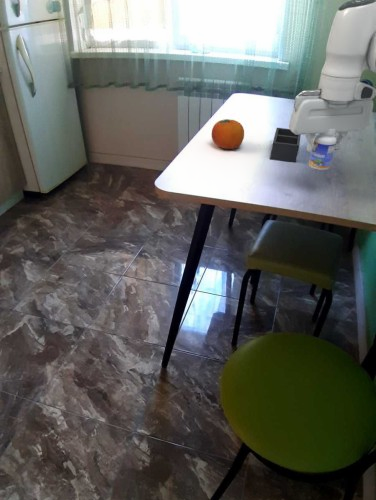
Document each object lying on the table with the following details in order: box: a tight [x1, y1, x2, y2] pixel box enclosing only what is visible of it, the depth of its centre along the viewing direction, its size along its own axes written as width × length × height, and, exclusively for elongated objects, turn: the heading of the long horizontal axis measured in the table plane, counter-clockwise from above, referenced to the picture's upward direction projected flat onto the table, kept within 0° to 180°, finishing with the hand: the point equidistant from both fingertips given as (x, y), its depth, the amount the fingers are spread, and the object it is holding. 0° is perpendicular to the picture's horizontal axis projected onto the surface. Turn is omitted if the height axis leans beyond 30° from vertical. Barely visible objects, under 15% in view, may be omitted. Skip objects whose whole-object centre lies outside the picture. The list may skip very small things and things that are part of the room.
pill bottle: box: [308, 129, 337, 171], centre depth 104 cm, size 5×5×10 cm
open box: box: [269, 127, 302, 164], centre depth 133 cm, size 8×15×5 cm, turn 167°
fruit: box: [211, 118, 245, 150], centre depth 133 cm, size 11×10×8 cm
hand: (323, 150), depth 105 cm, fingers closed on pill bottle, 5 cm apart
